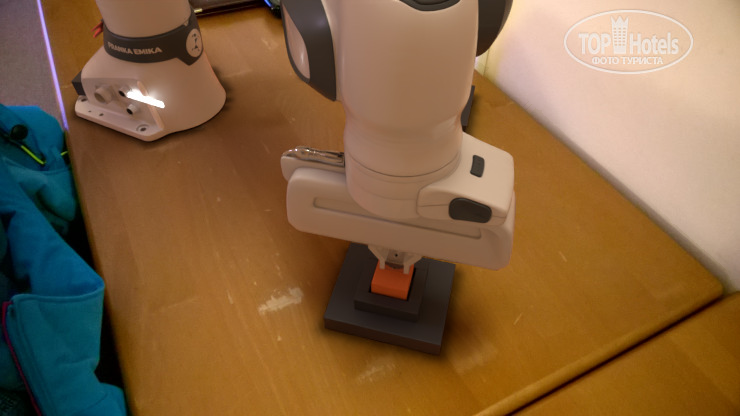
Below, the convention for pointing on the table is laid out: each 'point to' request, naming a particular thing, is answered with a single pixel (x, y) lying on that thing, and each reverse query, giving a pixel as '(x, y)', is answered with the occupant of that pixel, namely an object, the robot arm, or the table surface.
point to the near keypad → (391, 303)
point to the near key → (391, 282)
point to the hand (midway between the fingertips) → (395, 266)
